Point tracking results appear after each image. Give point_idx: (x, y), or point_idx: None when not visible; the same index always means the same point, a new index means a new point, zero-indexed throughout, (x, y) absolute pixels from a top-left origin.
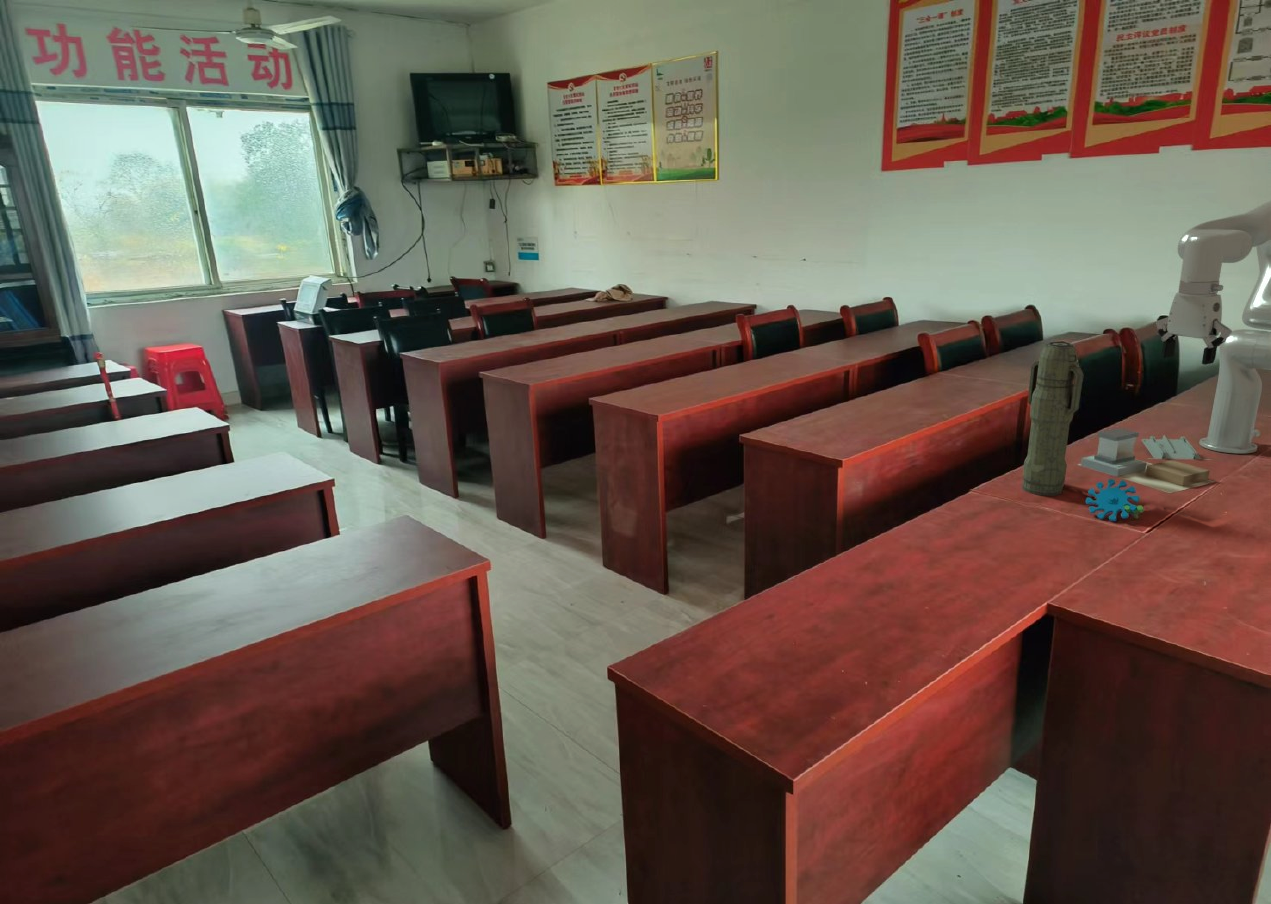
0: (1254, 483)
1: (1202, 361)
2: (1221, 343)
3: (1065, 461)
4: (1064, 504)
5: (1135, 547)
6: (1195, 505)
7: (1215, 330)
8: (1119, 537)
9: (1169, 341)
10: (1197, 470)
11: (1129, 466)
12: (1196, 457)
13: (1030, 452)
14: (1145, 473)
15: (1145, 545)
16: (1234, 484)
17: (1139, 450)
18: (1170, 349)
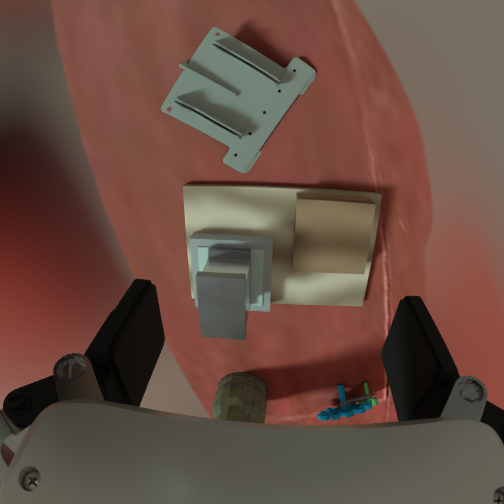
0: (410, 122)
1: (385, 362)
2: (493, 409)
3: (257, 414)
4: (291, 402)
5: (391, 420)
6: (397, 301)
7: (475, 461)
8: (373, 417)
9: (123, 397)
10: (362, 224)
11: (270, 286)
12: (274, 72)
13: None
14: (284, 251)
15: (396, 413)
16: (394, 156)
17: (164, 101)
18: (144, 343)
